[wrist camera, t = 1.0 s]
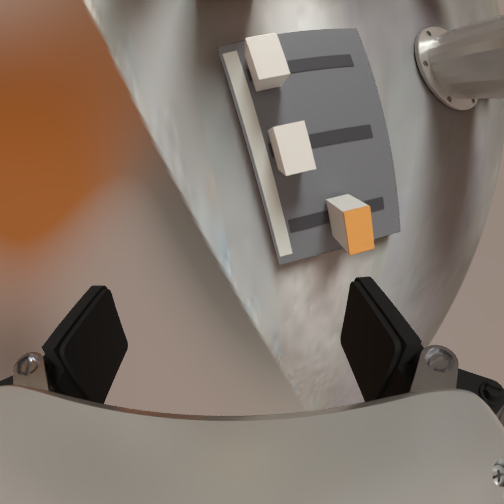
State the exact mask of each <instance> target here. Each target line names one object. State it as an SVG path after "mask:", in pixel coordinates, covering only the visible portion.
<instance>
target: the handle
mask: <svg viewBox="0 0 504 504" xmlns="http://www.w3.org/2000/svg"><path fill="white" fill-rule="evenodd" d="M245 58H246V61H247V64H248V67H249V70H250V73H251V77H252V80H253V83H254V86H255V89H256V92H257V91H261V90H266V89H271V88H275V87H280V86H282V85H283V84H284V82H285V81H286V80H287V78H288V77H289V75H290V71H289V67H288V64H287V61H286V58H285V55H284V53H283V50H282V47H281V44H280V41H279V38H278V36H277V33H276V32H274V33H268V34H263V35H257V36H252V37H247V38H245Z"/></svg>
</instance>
